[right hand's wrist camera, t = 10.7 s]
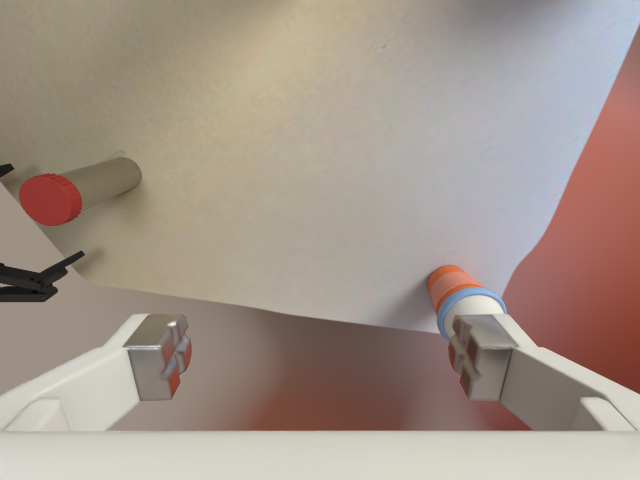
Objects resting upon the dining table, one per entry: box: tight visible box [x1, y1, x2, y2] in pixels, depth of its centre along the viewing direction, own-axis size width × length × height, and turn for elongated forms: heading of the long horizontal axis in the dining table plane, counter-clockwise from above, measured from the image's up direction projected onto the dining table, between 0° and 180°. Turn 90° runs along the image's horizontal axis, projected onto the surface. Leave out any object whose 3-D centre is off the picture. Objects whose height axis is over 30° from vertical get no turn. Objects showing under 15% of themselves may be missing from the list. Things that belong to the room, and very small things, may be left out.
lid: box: [19, 173, 83, 226], centre depth 36 cm, size 5×5×2 cm
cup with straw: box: [428, 266, 507, 341], centre depth 48 cm, size 9×9×18 cm
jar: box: [59, 157, 141, 212], centre depth 43 cm, size 4×4×15 cm
